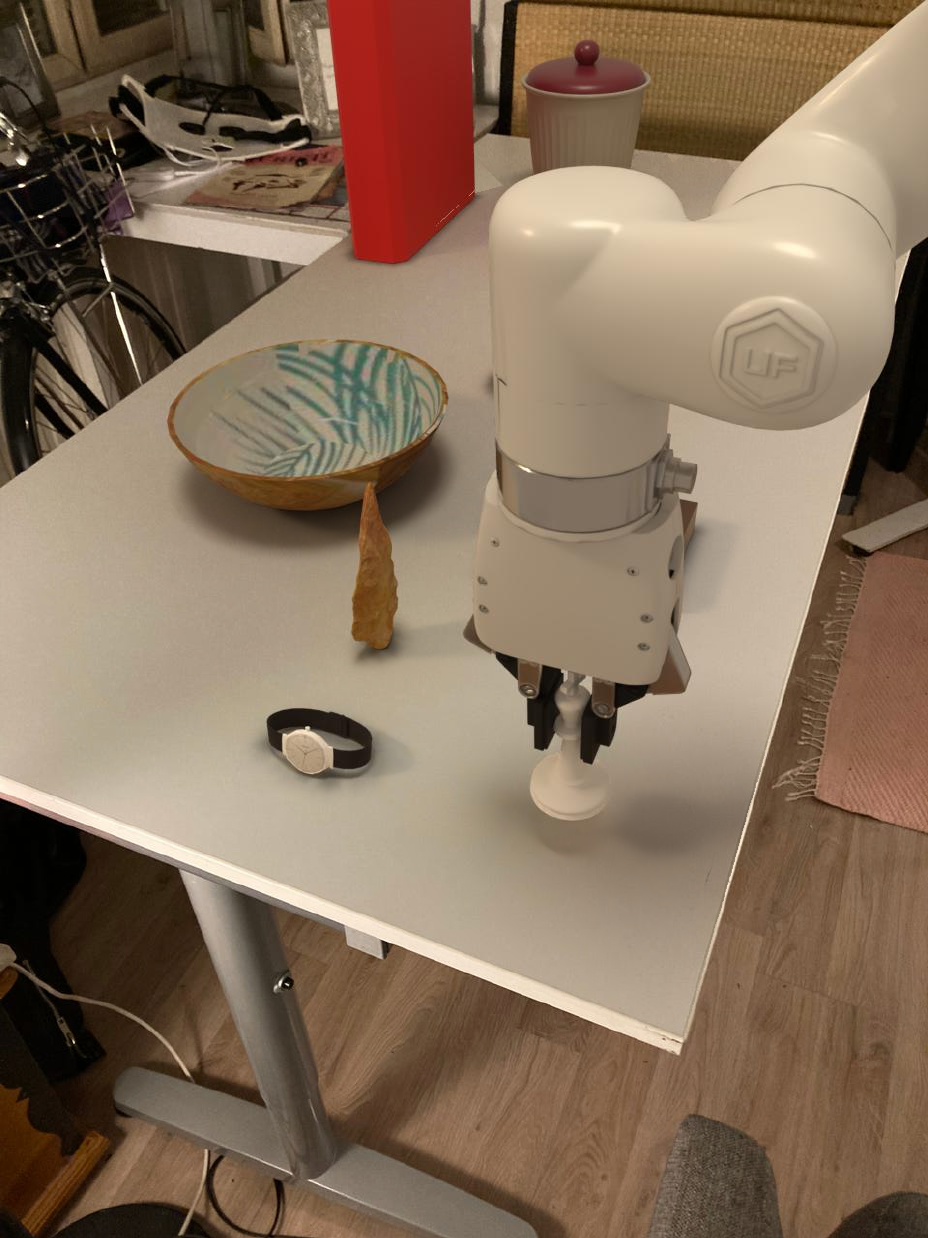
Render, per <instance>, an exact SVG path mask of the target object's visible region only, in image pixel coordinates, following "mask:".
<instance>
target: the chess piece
mask: <svg viewBox="0 0 928 1238" xmlns="http://www.w3.org/2000/svg"><path fill="white" fill-rule="evenodd" d="M586 678H587V675H582V674H578V673H574V672H570V671H567V679H566V680H564V683H563V684H562V685H560V688H558V690H557V691H556V693H555V696H554V698H555V703H556V705H557V707H558V709H559V710H560V713H561V714H559V715H558V716H557V717H556V719H555V721H554V724H553V729H554V731H555V735H557V736H558V737H559V738H561V739H562V740H561V745H560V751H557V752H553V753H551V754H549V755H547V756H546V757H544V758H543V759H542V760H540V761H539V762H538V763H537V764H536V766H535V767H534V769H533V771H532V774H531V778H530V782H529V792H530V796H531V798H532V801H533V802H534V804H535V805H536V807H537V808H539V810H541V812H543V813H545V814H546V815H548V816H550V817H552V818H555V819H557V820H563V821H569V822H570V821H572V822H573V821H574V822H575V821H582V820H586V819H589V818H592V817H594V816H596V815H598V814H599V813H601V812H602V811H603V810H604V809H605V808H606V806H607V805H608V803H609V802H610V799H611V798H612V797H611V796H612V791H613V789H612V783H611V782H612V781H611V776H610V774H609V772H608V770H607V768H606V766H605V765H604V764H603V762H601V761H600V760H599V759H597V758H596V757H595V759H594V762H593V764H592V765H591V764H587V763H583V760H582V759H580V745H581V719H582V714H583V712H584V709H585V707H586V705H587V703H588V700H589V698H590V696H591V692H590V690H589V689H588V688H586V687H585V686H584V685H581V684H580V683H582V682H583V681H584V680H585V679H586Z"/></svg>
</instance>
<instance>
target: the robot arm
mask: <svg viewBox="0 0 928 1238" xmlns="http://www.w3.org/2000/svg"><path fill="white" fill-rule="evenodd" d="M499 197H500V198H499V199H498V200H497V201H496V203H495V205H494V207H493V211H492V213H491V217H490V218H489V219H490V220H489V225H488V248H487V249H488V273H489V274H488V275H489V276H488V277H489V300H490V301H489V303H490V305H489V306H490V326H491V327H490V332H491V356H492V379H493V382H492V383H493V406H494V407H493V408H494V409H493V411H494V432H495V433H494V442H495V444H494V447H495V469H494V470H493V472H492V474H491V476H490V478H489V479H488V482H487V484H486V487H485V491H484V494H483V498H482V503H481V508H480V515H479V521H478V528H477V535H476V543H475V550H474V551H475V552H474V559H473V560H474V562H473V581H472V611H473V612H472V614H471V616H470V618H469V620H468V622H467V623H466V625H465V628H464V629H463V632H462V635H463V637H464V639H465V640H466V641H467V642H469V643H471V644H473V645H474V646H476V647H477V648H479V649H481V650H483V651H484V652H486V653H487V654H490V655H492V654H493V655H495V659H496V660H497V661H498V663H499V664H500V665H501V666H502V667H503V668H504V669H505V670H506V671H508V672H509V674H511V676H512V677H514V679H515V680H517V690H518V692H519V693H520V694H521V696H523V697H524V698H526V724H527V726H530V727H533V749H534V750H538V751H541V752H544V751H545V750H548V749H549V747H550V744H551V743H552V740H553V738H554V736H555V735H556V733H555V731H554V729H553V724H554V721H555V719H556V717H557V716H558V715H559V714H561V713H560V710H559V709H558V707H557V705H556V703H555V698H554V696H555V693H556V691H557V690H558V688H560V685H562V684H563V683H564V682H565V673H564V672H562V670H563V671H567V672H568V671H570V672H574V673H578V674H582V675H586V677H590V678H591V693H590V695H591V696H590V698H589V700H588V703H587V705H586V707H585V709H584V712H583V714H582V719H581V745H580V759H582V760H583V763H587V764H591V765H592V764H593V762H594V759H595V758H596V757H597V755H598V752H599V749H600V747H601V746H603V747H608V748H610V747H611V745H612V742H613V740H614V738H615V734H616V730H617V723H618V712H619V711H618V709H619V708H620V709H621V708H622V707H625V706H626V705H629V704H631V703H633V702H636V701H638V700H641V699H643V698H645V697H646V695H649V694H650V695H651V694H652V696H666V695H680V694H684V693H685V692H686V691H687V688H688V685H689V682H690V680H691V676H692V674H693V673H692V669H691V666H690V664H689V662H688V661H689V660H688V659H687V657H686V654H685V652H684V649H683V646H682V644H681V642H680V640H679V637H678V634H679V629H680V623H681V621H682V612H683V599H684V573H685V553H684V537H683V522H682V513H681V505H680V500H679V499H680V495H679V493H682V494H686V495H692V493H693V491H694V488H695V485H696V480H697V475H698V469H699V468H698V467H699V466H698V463H693V462H688V461H682V458H681V457H676V456H674V449H672V448H670V446H671V436H672V434H671V433H669V432H668V428H669V419H670V418H669V417H670V407H671V405H672V406H673V405H674V406H676V407H679V408H681V409H684V410H688V411H691V412H694V413H697V414H699V415H703V416H706V417H709V418H712V419H715V420H719V421H723V422H725V423H729V424H732V425H736V426H741V427H745V428H750V429H754V430H755V429H756V430H764V431H765V430H766V431H777V432H778V431H779V432H781V431H782V432H785V431H798V430H799V431H800V430H804V429H809V428H813V427H817V426H819V425H822V424H826V423H828V422H831V421H833V420H834V419H836V418H838V417H840V416H842V415H844V414H845V413H846V412H848V411H849V410H851V409H852V408H853V407H854V406H857V404H858V403H859V402H860V401H862V399H863V398H864V397H865V395H867V394H868V393H869V392H870V390H871V389H872V387H874V385H875V383H876V382H877V380H878V379H879V377H880V375H881V373H882V371H883V369H884V366H885V365H886V363H887V359H888V357H889V354H890V351H891V347H892V342H893V337H894V332H895V315H896V269H897V260H898V259H900V258H901V257H902V256H904V255H905V254H906V253H908V252H909V251H910V250H912V249H913V248H915V246H918V244H920V243H921V242H923V241H924V240H926V238H928V0H924V1H923V2H922V3H920V4H919V5H918V6H916V7H915V8H914V9H913V10H912V11H911V12H909V13H908V14H907V15H905V16H904V17H903V18H902V19H901V20H899V21H898V22H897V23H896V24H894V26H893V27H891V28H890V29H889V30H888V31H886V32H885V33H884V34H883V35H882V36H881V37H879V38H878V39H877V40H876V41H875V42H874V43H872V44H871V45H870V46H869V47H868V48H867V49H865V50H864V51H863V52H862V53H861V54H860V55H858V56H857V57H856V58H855V59H854V60H853V61H852V62H851V63H849V64H848V65H847V66H846V67H845V68H844V69H842V70H841V71H840V72H839V73H838V74H836V76H834V78H832V79H831V80H830V81H829V82H828V83H827V84H826V85H824V86H823V87H822V88H821V89H820V90H818V92H817V93H815V94H814V95H813V96H812V97H811V98H810V99H808V100H807V101H806V102H805V103H804V104H803V105H802V106H801V107H799V108H798V109H797V110H796V111H795V112H794V113H793V114H791V116H789V117H788V118H786V120H785V121H783V122H782V123H781V124H780V125H779V126H778V127H777V128H776V129H775V130H774V131H773V132H771V133H770V134H769V135H768V136H767V137H766V138H765V139H764V140H763V141H762V142H761V143H760V144H759V145H758V146H757V147H756V148H755V149H754V150H752V151H751V152H750V153H749V154H748V155H747V157H745V158H744V160H743V161H742V162H741V163H740V164H739V165H738V166H737V167H736V169H735V170H734V171H733V172H732V173H731V175H730V176H729V177H728V179H727V180H726V182H725V183H724V185H723V186H722V188H721V190H720V191H719V193H718V194H717V196H716V198H715V200H714V202H713V204H712V206H711V208H710V209H709V212H708V214H707V216H706V217H704V218H701V219H696V220H691V219H689V218H688V217H687V215H686V214H685V210H684V207H683V203H682V202H681V200H680V198H679V197H678V196H677V194H676V192H675V191H674V190H673V189H672V188H671V187H670V186H669V185H668V184H666V183H665V182H664V181H663V180H661V179H660V178H658V177H656V176H653V175H651V174H648V173H645V172H642V171H639V170H634V169H631V168H630V169H625V168H618V167H609V166H577V167H567V168H559V169H554V170H550V171H546V172H542V173H539V174H536V175H533V174H532V175H530V176H528V177H525V178H523V179H520V180H519V181H517V182H516V183H514V184H513V185H511V186H510V187H509V188H508V189H506V190H505V191H504V193H503V194H502V195H501V196H499Z"/></svg>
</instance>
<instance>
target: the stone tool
mask: <svg viewBox="0 0 928 1238" xmlns="http://www.w3.org/2000/svg"><path fill="white" fill-rule="evenodd" d="M376 495H377V494H376V493H375V489H374V488H373V487H372V484H371V483H370V482H369V483H368V485H367V486H366V490H365V494H364V499H362V500H363V501H362V509H361V515H360V516H361V517H360V523H359V535H358V545H359V546H358V547H359V548H358V549H359V565H358V570H357V573H356V578H355V588H354V590H353V593H352V597H351V603H352V605H351V606H352V607H351V609H352V619H353V620H352V624H351V630H350V634H351V636H352V639H353V640H354V641H355V642H359V643H360V642H365V643H367V644H369V645H370V646H371V647H373V648H374V649H379V650H382V649H386V648H387V647H388V645H389V644H390V642H391V638H392V635H393V633H394V619H395V618H394V617H395V614H396V612H397V611H398V609H399V597H398V586H399V582H398V579H397V577H396V575H395V561H394V560H393V559H392V551H393V545H392V539H391V536H390V533H389V531H388V529H387V528H386V527H385V525H384V524H383V521H382V516H381V513H380V510H379V504H378V500H377V496H376Z"/></svg>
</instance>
